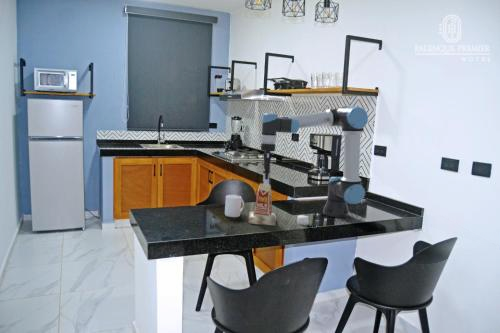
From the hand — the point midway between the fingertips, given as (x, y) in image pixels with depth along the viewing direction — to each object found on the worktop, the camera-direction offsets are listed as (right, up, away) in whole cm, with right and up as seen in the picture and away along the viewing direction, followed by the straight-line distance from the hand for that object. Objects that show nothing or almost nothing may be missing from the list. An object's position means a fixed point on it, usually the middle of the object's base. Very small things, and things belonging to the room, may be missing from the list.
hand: (265, 183), depth 219 cm
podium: (-2, -20, +2) cm, 21 cm away
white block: (+20, -22, +3) cm, 30 cm away
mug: (-17, -18, +11) cm, 27 cm away
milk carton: (-2, -17, +2) cm, 17 cm away
